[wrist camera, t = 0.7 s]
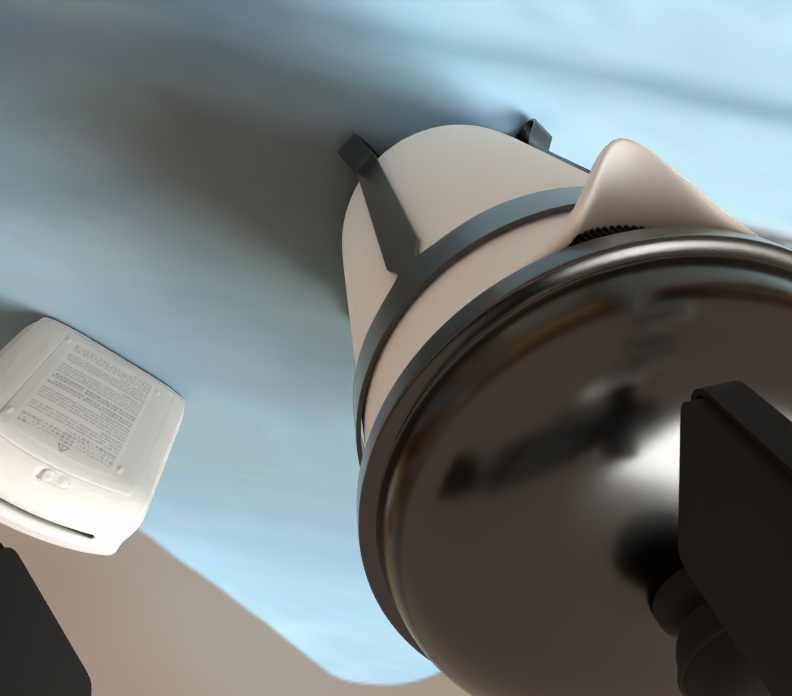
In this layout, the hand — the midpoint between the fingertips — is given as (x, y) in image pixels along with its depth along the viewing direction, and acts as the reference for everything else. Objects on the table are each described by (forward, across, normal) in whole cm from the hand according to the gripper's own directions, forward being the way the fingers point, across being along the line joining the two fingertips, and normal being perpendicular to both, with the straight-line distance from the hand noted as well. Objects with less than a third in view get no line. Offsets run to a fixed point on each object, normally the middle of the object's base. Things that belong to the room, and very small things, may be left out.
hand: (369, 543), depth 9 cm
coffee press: (+29, -6, +6) cm, 30 cm away
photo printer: (+29, +16, +9) cm, 34 cm away
